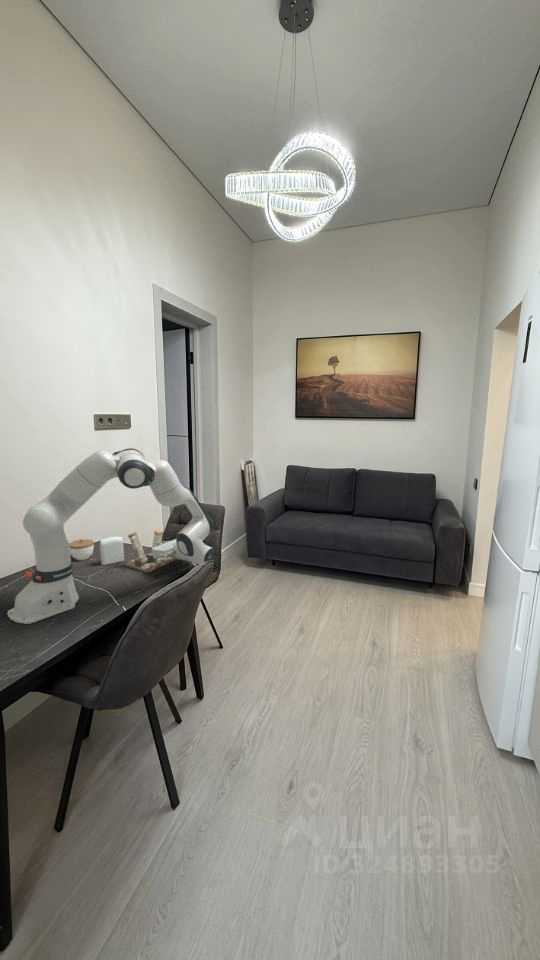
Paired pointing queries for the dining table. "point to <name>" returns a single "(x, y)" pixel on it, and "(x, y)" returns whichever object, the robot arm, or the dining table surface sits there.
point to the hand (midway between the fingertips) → (160, 543)
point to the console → (144, 557)
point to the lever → (157, 539)
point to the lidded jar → (81, 549)
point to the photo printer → (111, 550)
